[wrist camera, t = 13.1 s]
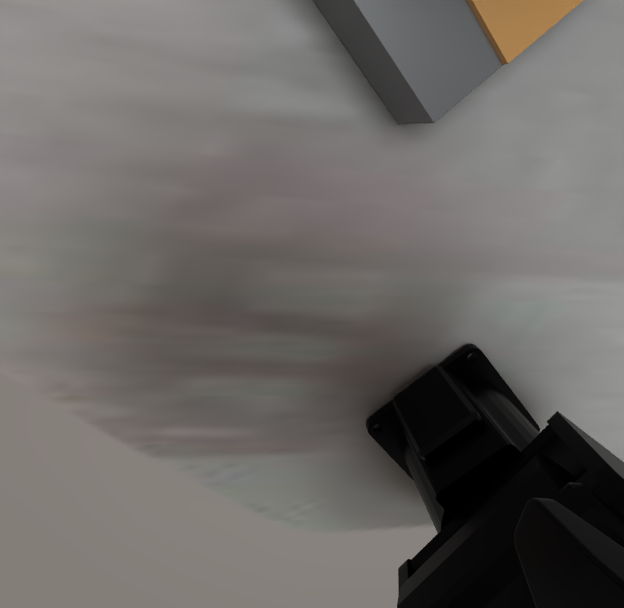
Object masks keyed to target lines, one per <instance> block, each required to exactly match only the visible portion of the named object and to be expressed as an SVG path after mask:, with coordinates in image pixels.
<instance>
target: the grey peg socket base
mask: <svg viewBox="0 0 624 608" xmlns="http://www.w3.org/2000/svg"><path fill="white" fill-rule="evenodd" d="M313 1H314V2H315V4H316V5H317V7H318V8H319V10H320V11H321V13H322V14H323V16H324V17H325V18H326V20H327V21H328V23H329V24H330V26H331V27H332V29H333V30H334V32H335V33H336V35H337V36H338V37H339V39H340V40H341V42H342V43H343V45H344V46H345V48H346V49H347V51H348V52H349V53H350V55H351V56H352V58H353V59H354V61H355V62H356V64H357V65H358V67H359V68H360V70H361V71H362V72H363V74H364V75H365V77H366V78H367V80H368V81H369V83H370V84H371V86H372V87H373V88H374V90H375V91H376V93H377V94H378V96H379V97H380V99H381V100H382V102H383V103H384V104H385V106H386V107H387V109H388V110H389V112H390V113H391V115H392V116H393V118H394V119H395V121H396V122H397V123H398V124H419V123H434V122H436V121H437V120H438V119H439V118H440V117H442V116H443V115H444V114H445V113H446V112H447V111H449V110H450V109H451V108H452V107H453V106H455V105H456V104H457V103H458V102H459V101H461V100H462V99H463V98H464V97H465V96H467V95H468V94H469V93H470V92H471V91H473V90H474V89H475V88H476V87H477V86H478V85H480V84H481V83H482V82H483V81H484V80H486V79H487V78H488V77H489V76H490V75H492V74H493V73H494V72H495V71H496V70H498V69H499V68H500V67H501V66H502V65H504V64H508V63H509V62H510V61H512V60H513V59H514V58H515V57H516V56H518V55H519V54H520V53H521V52H522V51H524V50H525V49H526V48H527V47H528V46H530V45H531V44H532V43H533V42H534V41H535V40H537V39H538V38H539V37H540V36H541V35H543V34H544V33H545V32H546V31H547V30H549V29H550V28H551V27H552V26H553V25H555V24H556V23H557V22H558V21H559V20H561V19H562V18H563V17H564V16H565V15H567V14H568V13H569V12H570V11H571V10H573V9H574V8H575V7H576V6H577V5H578V4H580V3H581V2H582V1H583V0H313Z"/></svg>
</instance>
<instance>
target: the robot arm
mask: <svg viewBox="0 0 624 608" xmlns="http://www.w3.org/2000/svg"><path fill="white" fill-rule="evenodd" d="M471 353H474V356H473V357H472V358H470V359H467V358H468V356H469V354H471ZM547 423H548V424H549V425H548V426H547V427H546V428H545V429H544V430H543V431H542V432H541V433H539V431H540V428H539V426H538V425H537V423H536V422H535V421H534V419H533V418H532V417H531V415H530V414H529V413H528V411H527V410H526V409H525V407H524V406H523V405H522V403H521V402H520V401H519V400H518V398H517V397H516V396H515V394H514V393H513V392H512V390H511V389H510V388H509V386H508V385H507V384H506V382H505V381H504V380H503V379H502V377H501V376H500V375H499V373H498V372H497V371H496V369H495V368H494V367H493V365H492V364H491V363H490V361H489V360H488V359H487V357H486V356H485V355H484V354H483V352H482V351H481V350H480V349H479V348H478V347H477V346H476V345H473V344H469V345H466V346H464V347H462V348H461V349H460V350H458V351H457V352H456V353H454V354H453V355H452V356H450V357H449V358H448V359H446V360H445V361H444V362H442V363H441V364H440V365H438V366H437V367H434V368H432V369H431V370H430V371H428V372H427V373H426V374H424V375H423V376H422V377H421V378H419V379H418V380H417V381H415V382H414V383H413V384H411V385H410V386H409V387H407V388H406V389H405V390H403V391H402V392H401V393H399V394H398V395H397V396H395V397H394V399H393V400H392V401H390V402H389V403H388V404H386V405H385V406H384V407H382V408H381V409H380V410H378V411H377V412H376V413H374V414H373V415H372V416H370V417H369V418H368V419H367V422H366V428H367V430H368V433H369V434H370V435H371V436H372V437H373V438H374V440H375V441H376V442H377V443H378V444H379V445H380V446H381V447H382V448H383V449H384V450H385V451H386V452H387V453H388V454H389V455H390V456H391V457H392V458H393V459H394V460H395V461H396V462H397V464H398V465H399V466H400V467H401V468H402V469H403V470H404V471H405V472H406V473H407V474H408V475H409V476H410V477H411V478H412V479H413V480H414V481H415V484H416V486H417V488H418V490H419V492H420V495H421V497H422V499H423V501H424V504H425V506H426V508H427V510H428V512H429V515H430V517H431V519H432V521H433V524H434V526H435V528H436V530H437V532H438V534H437V535H436V536H435V537H434V538H433V539H432V540H431V541H430V542H429V543H428V544H427V545H426V546H425V547H424V548H423V549H422V550H421V551H420V552H419V553H418V554H417V555H416V556H415V557H414V558H413V559H412V560H410V559H408V560H407V561H406V562H404V564H402V565H401V566H400V567H399V569H398V571H399V572H398V576H399V597H398V603H397V608H624V462H623V461H621V460H620V459H619V458H617V457H616V456H615V455H613V454H612V453H611V452H610V451H608V450H607V449H606V448H604V447H603V446H602V445H601V444H599V443H598V442H597V441H595V440H594V439H593V438H592V437H590V436H589V435H588V434H586V433H585V432H584V431H582V430H581V429H580V428H579V427H577V426H576V425H575V424H573V423H572V422H571V421H570V420H568V419H567V418H566V417H564V416H563V415H562V414H561V413H559V412H558V411H557V412H556V413H555V414H554V415H553V416H552V417H551V418H550V419H549V420H548V421H547ZM376 424H381V425H380V426H379V427H377V428H373V426H374V425H376Z"/></svg>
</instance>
